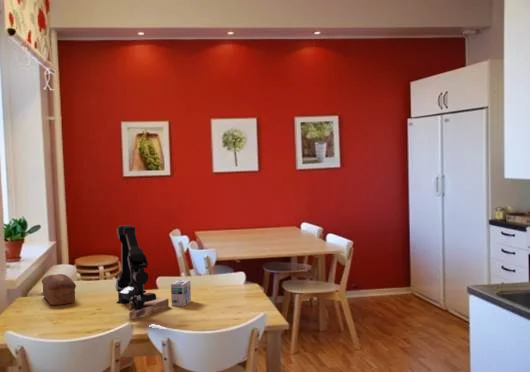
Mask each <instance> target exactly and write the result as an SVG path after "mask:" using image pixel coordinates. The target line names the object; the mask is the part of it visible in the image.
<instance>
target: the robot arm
mask: <svg viewBox="0 0 530 372" xmlns="http://www.w3.org/2000/svg"><path fill="white" fill-rule="evenodd" d="M136 228H137V227H136V226H133V225H132V224H126V225H119V226H118V227H116V235H117V238H118V240H119V241H120V271H119V272H118V274H117V279H116V281H115V291H116V292H117V294H118V295H117V296H118V297H117V298H118V299H117V301H116V303H118V304H124V305H126V304H129V302H130V301H131V302H132V303H133V305H134V308H135V311H136V310H140V309H142V307H143V305H144V303H145V302H149V301H152V300H156V297H157V294H156V293H154V292H147V291H146V290H145V285H146V283H147V282H148V280H149V274H148V272H146V271H145V269H148V266H149V262H148V259H147V256H146V254H145V253H144V251H143V250H144V249H142V248H140V246H139V243H138V239H137V236H136V235H137V229H136Z"/></svg>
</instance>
